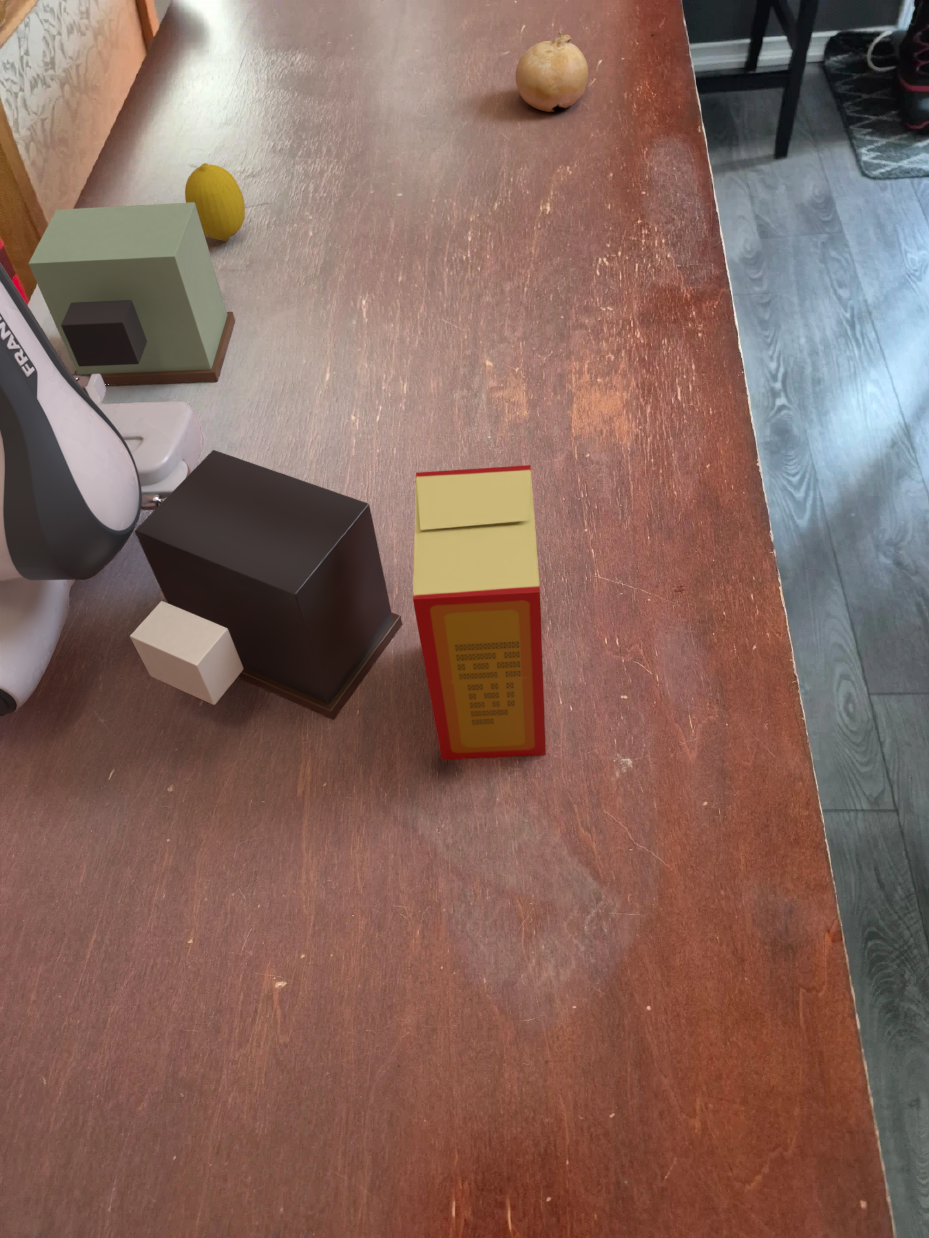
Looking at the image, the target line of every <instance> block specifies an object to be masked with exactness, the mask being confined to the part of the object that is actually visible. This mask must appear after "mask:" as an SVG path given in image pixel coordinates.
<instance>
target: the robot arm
mask: <svg viewBox="0 0 929 1238" xmlns="http://www.w3.org/2000/svg"><path fill="white" fill-rule="evenodd" d="M33 313H34V312H32V310H31V308H30V307H29V305H28V304H27V302H26V301H25V298H24V297H23V295H22V294H21V293H20V291H19V289H18V288H17V286H16V285H15V283H14V281H13V280H12V278H11V276H10V275H9V274H8V272H7V271H6V269H5V267H4V265H3V264H2V262H0V718H1V717H3V718H4V717H6V716H8V715H11V714H13V713H15V712H17V711H18V710H19V709H20V708H21V707H23V705H24V704H25V703H26V702H28V700H29V698H30V697H31V696H32V695H33V693H34V692H35V690H36V689H37V686H39V683H40V682H41V681H42V678H43V676H44V675H45V673H46V670H47V668H48V667H49V664H50V662H51V660H52V657H53V655H54V653H55V651H56V648H57V646H58V642H59V640H60V638H61V635H62V633H63V630H64V627H65V624H66V621H67V619H68V615H69V611H70V592H71V588H72V586H74V584H75V582H77V581H80V580H81V581H82V580H83V581H84V580H89V579H91V578H93V577H95V576H96V575H97V574H99V573H100V572H101V571H102V570H103V569H105V567H106V566H108V565H109V563H110V562H111V561H112V560H113V559H114V558H115V557H116V556H117V555H118V554H119V552H120V551H121V550H122V549H123V547H124V546H125V544H126V543H127V542H128V540H129V539H130V537H131V535H132V533H133V531H135V528H136V526H137V524H138V522H139V519H140V517H141V512H142V511H154V510H155V509H156V508H157V507H158V506H159V505H160V504H161V503H162V502H163V501H164V500H165V499H166V498H167V497H168V496H169V495H170V494H171V493H172V492H173V491H174V490H175V489H176V488H177V487H178V486H179V485H180V483H181V482H182V481H183V480H184V479H185V478H186V477H187V476H188V475H189V474H190V473H191V472H192V471H193V470H194V469H195V468H196V465H197V463H198V462H199V458H200V456H201V453H202V451H203V448H204V444H205V439H204V433H203V430H202V427H201V424H200V420H199V418H198V416H197V413H196V412H195V410H194V409H193V408H192V407H191V406H190V405H189V403H187V402H185V401H182V400H171V401H145V402H144V401H143V402H116V403H115V402H114V403H112V402H111V403H103V401H104V399H105V396H106V394H107V387H106V386H105V384H104V381H103V379H102V376H101V375H100V374H99V373H98V374H83V375H81V374H79V375H74V374H72V373H71V371H70V370H69V369H68V367H67V366H66V364H65V362H64V361H63V359H62V358H61V356H60V355H59V353H58V351H57V350H56V348H55V347H54V345H53V344H52V342H51V340H50V339H49V337H48V336H47V334H46V332H45V331H44V329H43V328H42V326H41V325H40V323H39V321H38V320H37V318H36V317H35V315H34V314H33Z"/></svg>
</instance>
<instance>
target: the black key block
mask: <svg viewBox="0 0 929 1238" xmlns="http://www.w3.org/2000/svg"><path fill="white" fill-rule="evenodd" d="M134 533H135V535H136V538H137V540H138V543H139V544H140V546H141V549H142V552H143V553H144V555H145V557H146V559H147V562H148V564H149V566H150V568H151V570H152V573H153V575H154V577H155V579H156V583H157V584H158V586H159V588H160V590H161V593H162V595H163V597H164V599H165V602H166V603H168V604H170V605H173V606H175V607H178V608H180V609H182V610H185V611H187V612H189V613H192V614H194V615H197V616H199V617H201V618H204V619H206V620H209V621H211V622H213V623H216V624H218V625H220V626H223V627H225V628H227V629H228V631H229V633H230V636H231V638H232V641H233V643H234V646H235V648H236V651H237V653H238V656H239V658H240V661H241V663H242V666H243V668H244V669H243V670H242V672H241V673H240V674H239V675H238V677H237V678H238V679H241V680H243V681H245V682H248V683H249V684H252V685H254V686H257V687H259V688H261V689H263V690H266V691H268V692H270V693H272V694H274V695H277V696H279V697H282V698H283V699H286V700H288V701H290V702H293V703H295V704H298V705H299V706H302V707H304V708H307V709H309V710H311V711H313V712H316V713H317V714H320V715H321V716H322V715H323V716H325V717H327V718H329V719H332V720H334V719H335V718H336V717H337V716H338V714H339V713H340V711H341V710H342V708H344V706H345V704H346V703H347V701H348V700H349V699H350V698H351V696H352V694H353V693H354V692H355V691H356V689H357V688H358V686H359V685H360V684H361V683H362V681H363V680H364V679H365V677H366V676H367V674H368V673H369V671H370V670H371V669H372V667H373V666H374V664H375V663H376V662H377V660H378V659H379V657H380V656H381V655H382V653H383V652H384V651H385V650H386V648H387V646H388V645H389V643H390V642H391V641H392V640H393V638H394V636H395V635H396V634H397V633H398V631H399V630H400V629H401V627H402V625H403V621H402V616H401V615H400V614H397V613H394V612H392V608H391V604H390V599H389V594H388V589H387V584H386V578H385V575H384V570H383V564H382V560H381V555H380V554H381V553H380V550H379V544H378V541H377V536H376V530H375V526H374V521H373V516H372V511H371V506H370V503H368V502H365V501H362V500H360V499H358V498H357V499H356V498H354V497H351V496H348V495H346V494H342V493H340V492H337V491H334V490H331V489H328V488H325V487H323V486H319V485H316V484H313V483H311V482H308V481H305V480H302V479H299V478H296V477H293V476H290V475H288V474H284V473H281V472H279V471H276V470H273V469H270V468H267V467H265V466H263V465H258V464H256V463H253V462H250V461H247V460H245V459H241V458H239V457H236V456H233V455H230V454H227V453H225V452H221V451H218V450H215V449H212V450H211V451H210V452H209V454H207V456H205V457H204V459H202V461H201V462H200V463H198V465H197V466H195V467H194V470H193V471H192V472H191V473H190V474H189V475H188V476H187V477H186V478H185V479H184V480H183V481H182V482H181V483H180V485H179V486H178V487H177V488H176V489H175V490H174V491H173V492H172V493H171V494H170V495H169V496H168V497H167V498H166V499H165V500H164V501H163V502H162V503H161V504H160V505H159V506H158V507H157V508H156V509H155V510H152V512H151V513H150V514H149V515H148V516H147V517H146V518H145V519H144V521H143V522H141V524H139V526H138V527H137V528H136V529H134Z"/></svg>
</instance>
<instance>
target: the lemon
mask: <svg viewBox="0 0 929 1238" xmlns="http://www.w3.org/2000/svg"><path fill="white" fill-rule="evenodd" d="M184 195H185V196H184V197H185V199H184V200H185V203H191V202H195V205H196V209H197V212H198V215H199V219H200V222H201V226H202V229H203V232H204V236H205V237H207V238H210V239H213V240H220V241H221V242H224V243H225V242H228V241H229V240H230V239H231V237H233V236H235V235H236V234H237V233H238V232H239V231H240V229H241V228H242V226H243V224H244V221H245V217H246V205H245V199H244V195H243V192H242V190H241V188H240V186H239V184H238V183H237V181H236V178H235V177H234V176H233V175H232V174H231V172H229V171H228V170H227V169H225V168H224V167H221V166H219V165H217V164H209V163H207V162H205V163H202V164H201V165H200V166H198V167H197V168H195V169H194V170H193V171H192V172H191V174H190V175H189V176H188V178H187V180H186V184H185V187H184Z"/></svg>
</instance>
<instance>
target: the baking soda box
mask: <svg viewBox="0 0 929 1238" xmlns="http://www.w3.org/2000/svg"><path fill="white" fill-rule="evenodd" d="M532 479H533V478H532V466H531V464H527V465H512V466H495V467H481V468H480V467H478V468H466V469H451V470H449V469H448V470H436V471H419V472H415V496H414V497H415V498H414V501H415V502H414V535H413V536H414V537H413V538H414V541H413V574H412V575H413V577H412V580H413V581H412V602H413V608H414V612H415V613H414V615H415V619H416V626H417V630H418V636H419V643H420V647H421V652H422V658H423V663H424V670H425V675H426V680H427V687H428V691H429V697H430V703H431V707H432V708H431V709H432V715H433V719H434V726H435V731H436V732H435V733H436V736H437V742H438V747H439V754H440V759H441V761H447V760H448V761H449V760H467V759H469V760H470V759H489V758H490V759H491V758H507V757H508V758H509V757H526V756H527V757H528V756H546V754H547V753H546V752H547V751H546V749H547V748H546V723H545V719H546V718H545V696H544V670H543V669H544V668H543V665H544V664H543V663H544V662H543V642H542V641H543V639H542V638H543V637H542V611H541V609H542V608H541V588H540V586H541V585H540V574H539V560H538V548H537V546H538V545H537V534H536V520H535V507H534V506H535V505H534V495H533V494H534V493H533V480H532Z"/></svg>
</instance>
